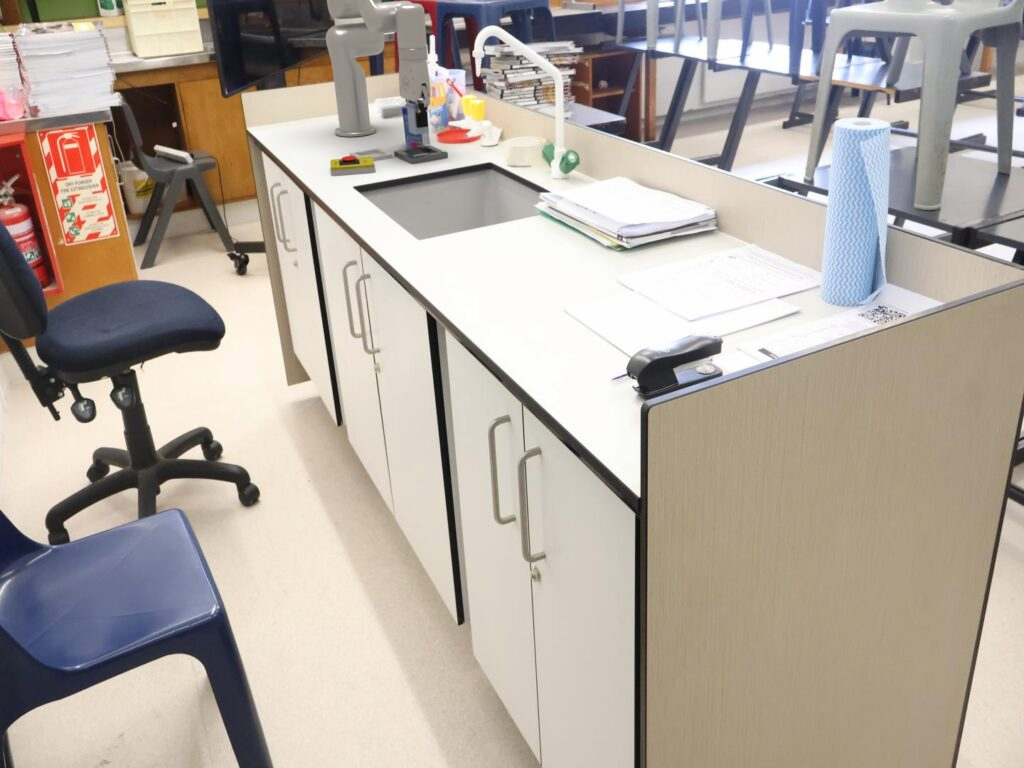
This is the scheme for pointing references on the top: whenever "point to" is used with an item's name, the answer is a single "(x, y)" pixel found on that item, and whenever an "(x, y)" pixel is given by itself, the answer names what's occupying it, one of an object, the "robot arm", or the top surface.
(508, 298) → the top surface
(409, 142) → the ink cartridge box
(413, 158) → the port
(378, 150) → the grey square tray
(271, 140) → the top surface
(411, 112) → the plug
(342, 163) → the emergency button
